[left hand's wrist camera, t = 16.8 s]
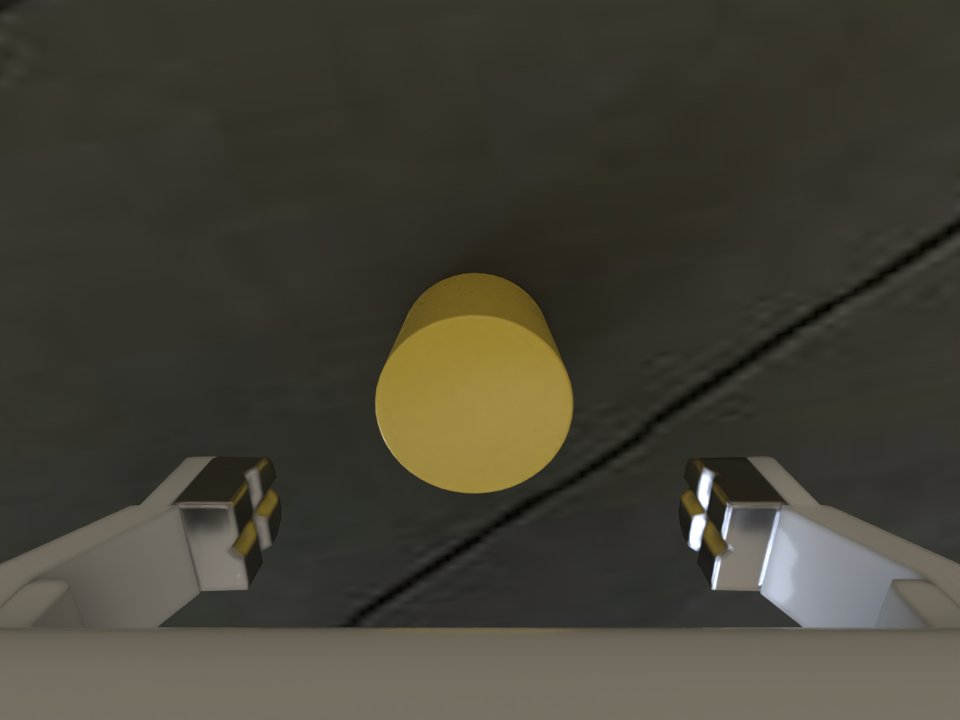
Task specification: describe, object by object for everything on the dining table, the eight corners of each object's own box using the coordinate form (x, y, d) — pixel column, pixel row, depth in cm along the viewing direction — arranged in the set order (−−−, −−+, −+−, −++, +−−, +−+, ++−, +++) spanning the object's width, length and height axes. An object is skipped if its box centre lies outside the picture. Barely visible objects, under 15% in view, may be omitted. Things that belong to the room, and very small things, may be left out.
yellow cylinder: (578, 356, 17) (612, 424, 13) (465, 436, 19) (460, 525, 14) (487, 240, 16) (490, 271, 12) (370, 335, 17) (332, 397, 13)
